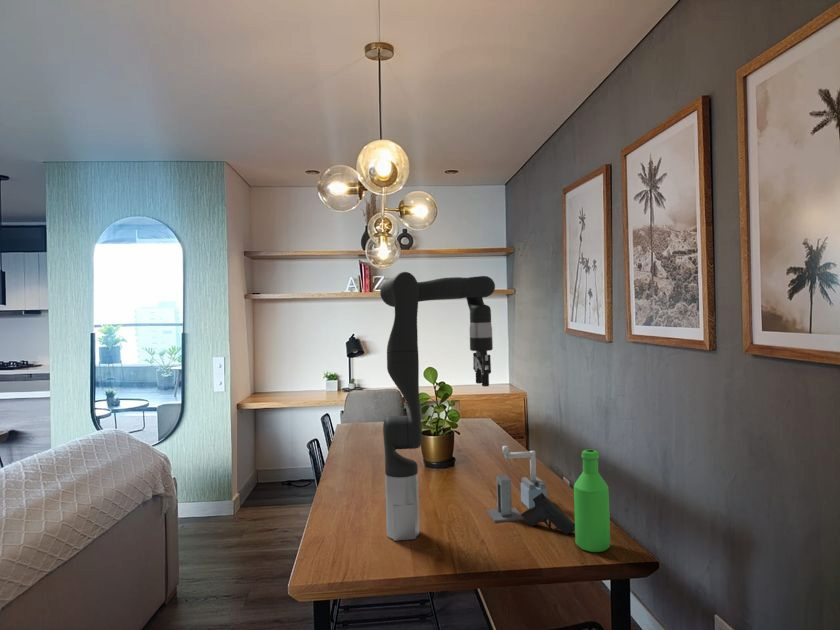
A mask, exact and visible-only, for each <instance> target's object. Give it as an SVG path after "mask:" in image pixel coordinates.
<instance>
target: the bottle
mask: <svg viewBox="0 0 840 630" xmlns="http://www.w3.org/2000/svg"><path fill="white" fill-rule="evenodd" d="M580 456H581V459H582V472H581V474H580V475H579V477H578V478H577V480H576V481H575V483H574V484H573V502H574V506H573V507H574V510H573V511H574V524H575V530H574V535H575V537H574V539H575V541H574V542H575V544H576V545H577V546H578V547H579V548H580V549H581V550H583V551H586V552H590V553H600V552H605V551H607V550H608V549H609V548H610V547H611V520H610V518H611V517H610V514H611V513H610V493H609V489H610V488H609V486H608V484H607V483H606V481H605V480H604V478H603V477H602V475H601V474H600V473H599V458H600V455H599V451H597V450H595V449H585V450H583V451H581V455H580Z"/></svg>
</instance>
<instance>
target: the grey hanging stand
mask: <svg viewBox="0 0 840 630" xmlns="http://www.w3.org/2000/svg"><path fill="white" fill-rule="evenodd" d="M502 455H504V459H507V460H508V459H523V458H524V459H525V458H526V459H527V458H529V473H530V474H529V475H530V477H529V478H530V479H529V478H528V477H525V476H524V477H521V482H520V501H521V503H522V504H524V505H525V507H526V508H527V510H528V509H530V508H533V507H535V503H534V501H533V499H534V498H535V497H537V496H538V495H539V494H541V493H543V494H544V496H545V497H547V498H548V489H547V488H546V483H545V482H544V481H543V480H542V479H540V478H539V477H538V476H537V467H536V465H537V461H536V450H530V451H515V452H514V451H513V452H509V445H502Z"/></svg>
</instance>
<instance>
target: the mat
mask: <svg viewBox="0 0 840 630" xmlns="http://www.w3.org/2000/svg"><path fill="white" fill-rule="evenodd" d="M486 513H487V514H488V516H489V517H490V519H491V520H493V522H494V523H500V522H501V523H502V522H514V521H515V522H516V521H525V520H524V518H523V517H522V516H521V514H522V513H520V512H519V511H518V510H517V508H516V507H512V516H510V517H502V516H501V512H498V511H497V508H494V509H493V508H492V509H486Z"/></svg>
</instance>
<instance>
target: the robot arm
mask: <svg viewBox="0 0 840 630" xmlns="http://www.w3.org/2000/svg"><path fill="white" fill-rule="evenodd" d="M495 290H496V284H495V282H494V280H493V278H491V277H490V276H487V275H480V276H471V277H460V276H459V277H457V276H453V277H451V276H450V277H442V278H441V277H440V278H436V279H431V280H426V281H417V279H416V277H415V276H414V275H413V274H412V273H410V272H407V271H402V272H401V271H400V272H399V273H397V274H394V275H393V276H391V277H390V278H388V279H387V280H385V281H384V282H383V283H382V285H381V287H380V292H379V294H380V298H381V300H382V301H383V303H385V304H386V305H388V306H389V307H393V308H394V320H393V325H392V328H391V331H390V334H389V337H388V342H387V346H386V368H387V373H388V375H389V377H390V378H391V381H393V383H394V384H395V386H396V387H397V389H398V390H399V392H400V393H401V394H402V397H403V399H404V400H405V402H406V405H407V407H408V410H409V415H397V416H396V415H391V416H386V417H385V418H384V420H383V425H382V429H383V430H382V431H383V432H382V435H383V443H384V444H383V445H384V464H385V465H384V474H385V475H384V477H385V478H384V479H385V483H384V484H385V514H386V516H385V517H386V518H385V520H386V536H387V537H388V538H389V539H392V540H393V541H395V542H397V541H408V540H410V541H411V540H416V539H417V537H418V536H419V534H420V511H419V510H420V507H419V504H420V503H419V473H418V471H419V470H418V468H419V467H418V466H419V465H418V463H417V462H416V461H415V460H414V459H412V458H408V457H405V456H403V455H401V454H399V453H398V452H397V450H415V449H420V447H421V446H422V442H423V428H422V417H421V416H422V415H421V414H422V413H421V404H420V387H419V386H420V385H419V381H420V380H419V379H420V377H419V375H420V374H419V372H420V368H419V367H420V365H419V364H420V363H419V362H420V361H419V346H418V345H419V343H418V338H419V337H418V310H419V302H427V301H440V300H442V301H444V300H458V299H459V300H460V299H466V302H467V306H468V309H469V322H470V323H469V350H470V351H472V352H473V354H472V356H473V357H472V358H473V370H474V373H475V383H476V384H477V385H478V384H481V386H482V387H484V388H485V387H489V386H490V377H489V375H490V374H491V373H492V363H491V354H488V351H489V352H490V351H492V350H493V349H494V347H493V344H494V343H493V327H492V310H491V307H490V305H488V304H485V302H484V298H488V297H490V296H492V295H493V293H494V292H495Z"/></svg>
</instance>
